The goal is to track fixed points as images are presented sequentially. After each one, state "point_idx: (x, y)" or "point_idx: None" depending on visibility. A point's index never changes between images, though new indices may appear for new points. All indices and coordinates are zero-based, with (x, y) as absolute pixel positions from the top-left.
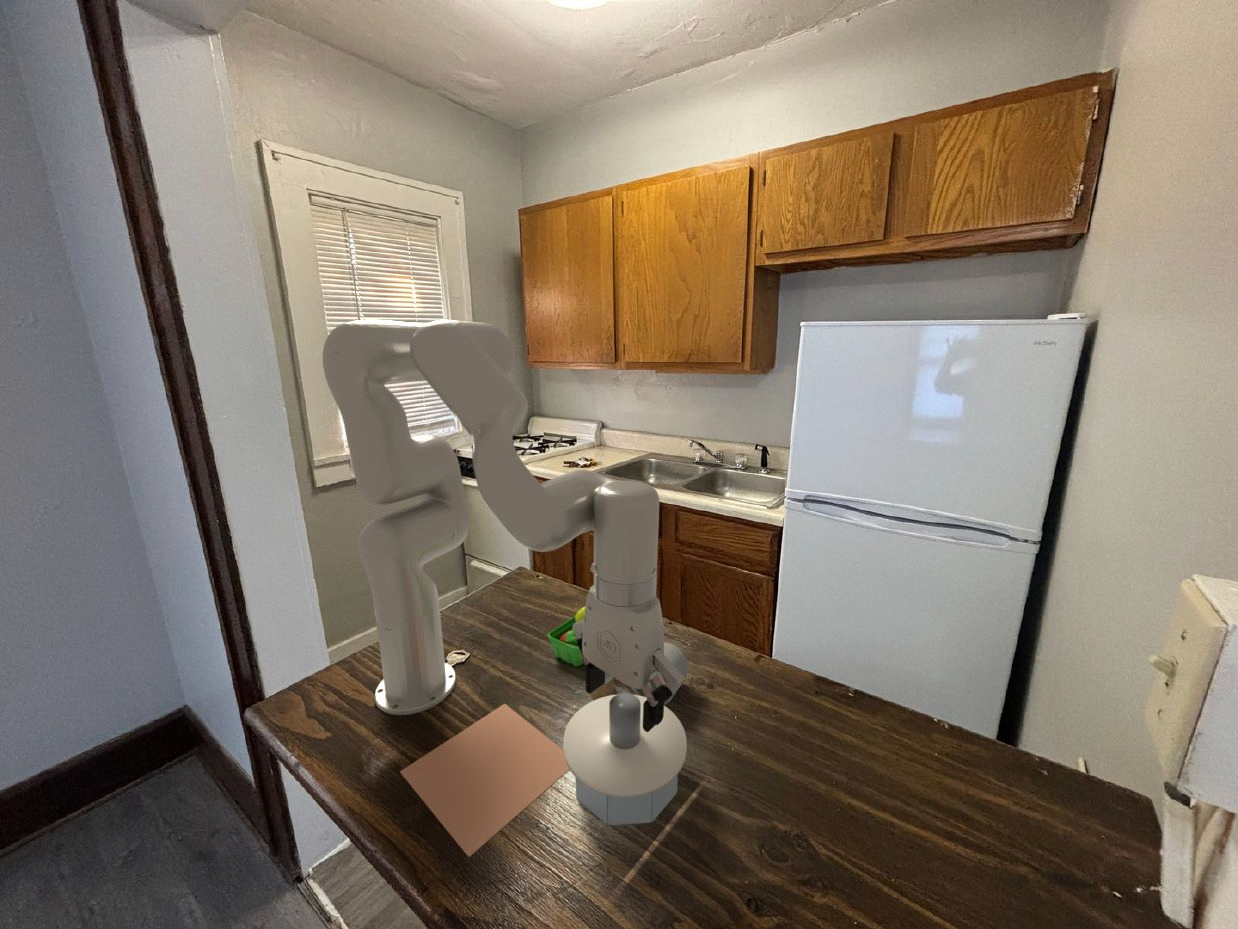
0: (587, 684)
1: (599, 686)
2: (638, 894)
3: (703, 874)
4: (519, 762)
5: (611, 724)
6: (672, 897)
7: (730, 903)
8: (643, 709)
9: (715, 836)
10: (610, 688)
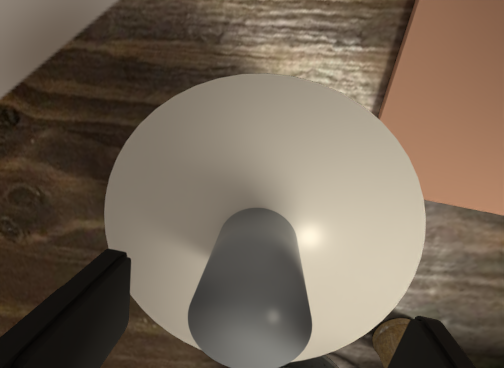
0: (455, 356)
1: (393, 361)
2: (140, 34)
3: (81, 118)
4: (477, 125)
5: (279, 243)
6: (97, 61)
7: (33, 100)
8: (57, 327)
9: (96, 180)
10: (382, 351)
